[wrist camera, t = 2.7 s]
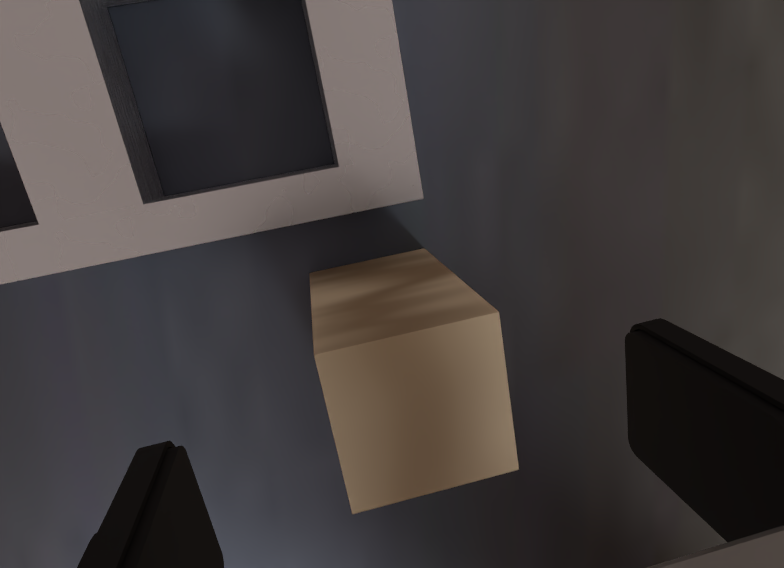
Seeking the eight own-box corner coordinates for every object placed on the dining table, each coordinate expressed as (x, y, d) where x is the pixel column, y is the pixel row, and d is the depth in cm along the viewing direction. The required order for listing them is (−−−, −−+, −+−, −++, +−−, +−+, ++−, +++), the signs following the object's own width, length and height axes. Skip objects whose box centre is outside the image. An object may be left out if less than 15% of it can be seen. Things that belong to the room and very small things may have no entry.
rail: (362, -84, 17) (372, -122, 14) (408, 192, 19) (423, 198, 17) (-333, 12, 15) (-457, -14, 12) (-177, 309, 17) (-254, 336, 15)
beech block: (424, 248, 20) (499, 311, 12) (441, 353, 21) (518, 469, 14) (309, 272, 20) (313, 355, 12) (334, 379, 21) (352, 514, 13)
